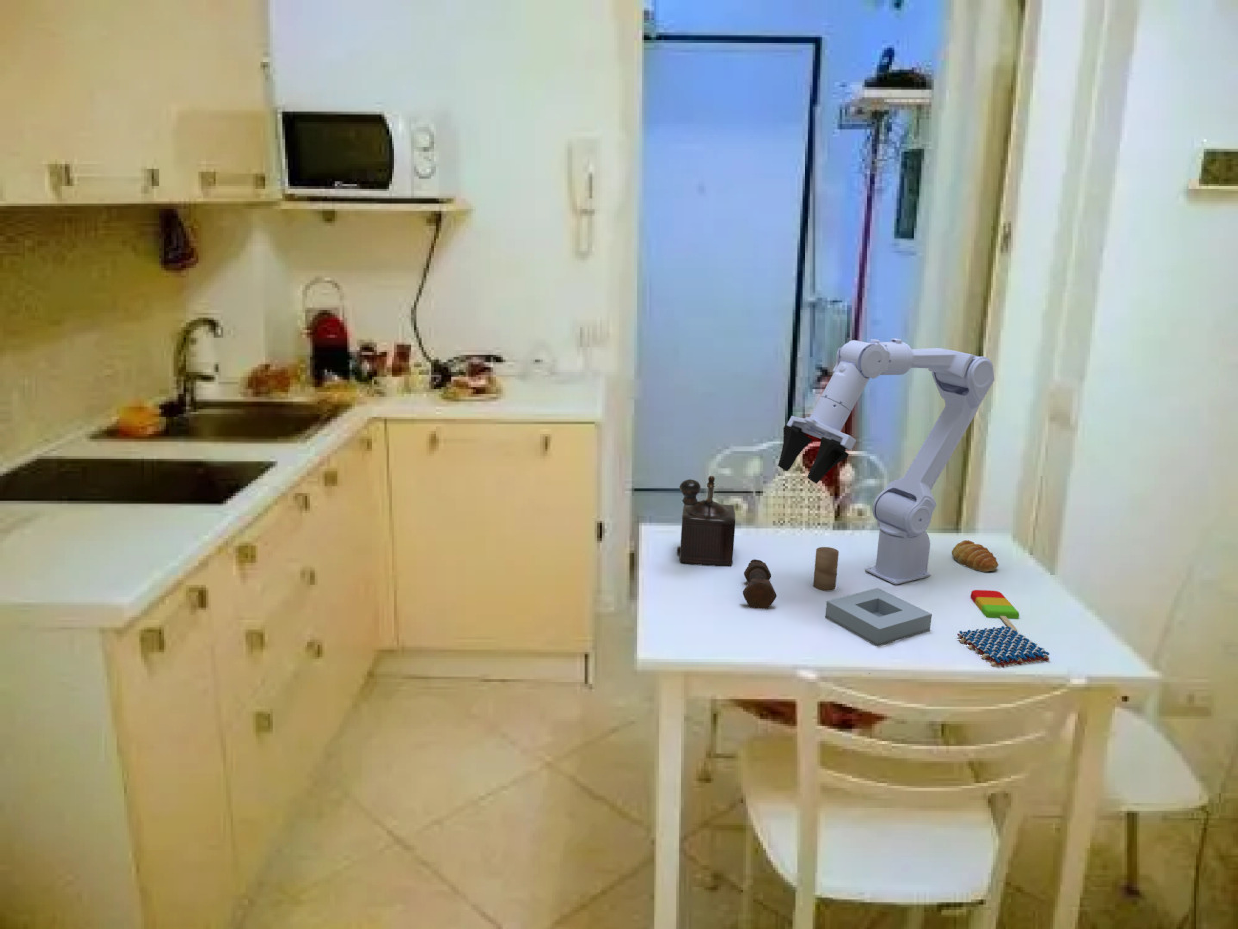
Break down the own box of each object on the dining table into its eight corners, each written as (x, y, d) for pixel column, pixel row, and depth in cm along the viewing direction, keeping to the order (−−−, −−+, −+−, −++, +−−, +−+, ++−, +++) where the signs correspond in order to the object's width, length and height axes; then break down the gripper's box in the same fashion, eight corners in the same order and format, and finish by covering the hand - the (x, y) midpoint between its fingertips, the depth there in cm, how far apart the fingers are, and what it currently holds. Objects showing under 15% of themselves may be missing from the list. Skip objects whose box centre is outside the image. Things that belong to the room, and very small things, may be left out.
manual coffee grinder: (677, 544, 186) (681, 460, 181) (732, 547, 185) (737, 462, 180) (675, 573, 171) (678, 482, 166) (734, 577, 170) (739, 485, 165)
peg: (824, 580, 170) (828, 545, 168) (840, 588, 166) (843, 552, 164) (808, 584, 168) (811, 549, 166) (823, 592, 164) (826, 556, 162)
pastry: (1006, 572, 176) (1009, 554, 175) (977, 576, 174) (980, 557, 173) (974, 555, 185) (976, 537, 184) (946, 558, 183) (948, 540, 182)
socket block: (876, 603, 160) (877, 587, 159) (929, 630, 150) (932, 614, 149) (825, 617, 154) (826, 601, 153) (877, 646, 144) (879, 629, 143)
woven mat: (1007, 634, 151) (1008, 623, 150) (1051, 664, 141) (1053, 652, 140) (952, 640, 148) (953, 629, 148) (994, 671, 138) (995, 659, 138)
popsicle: (998, 599, 165) (1000, 590, 164) (1031, 636, 150) (1032, 626, 150) (968, 598, 165) (969, 588, 164) (997, 635, 150) (999, 625, 150)
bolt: (759, 585, 172) (762, 616, 157) (736, 571, 172) (738, 601, 157) (776, 561, 170) (781, 590, 156) (753, 546, 170) (756, 575, 156)
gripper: (793, 386, 159) (755, 453, 159) (852, 403, 147) (811, 477, 147) (817, 403, 163) (780, 470, 163) (876, 422, 151) (836, 493, 151)
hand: (796, 474), depth 155 cm, fingers open, 7 cm apart
